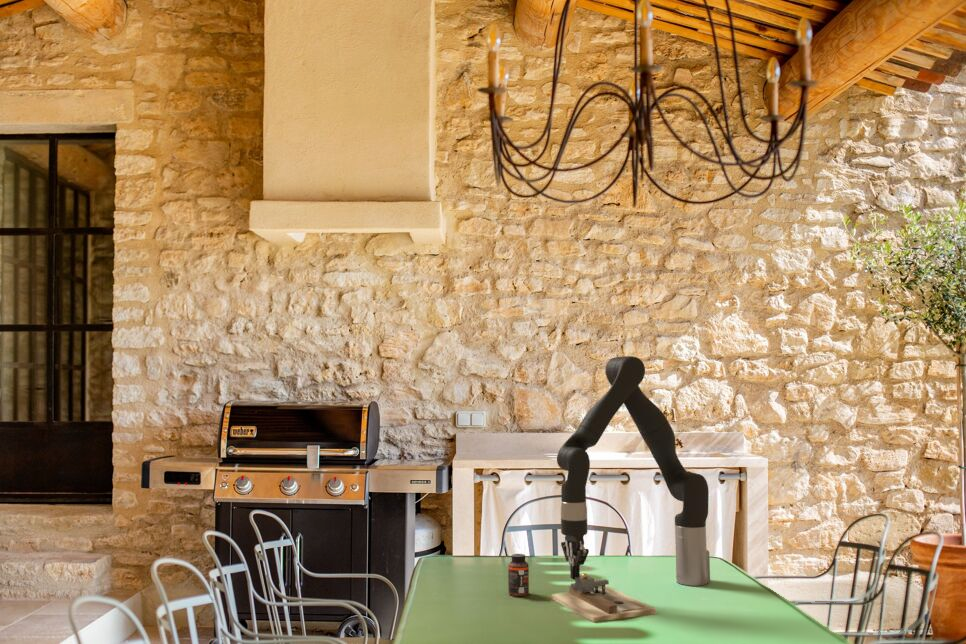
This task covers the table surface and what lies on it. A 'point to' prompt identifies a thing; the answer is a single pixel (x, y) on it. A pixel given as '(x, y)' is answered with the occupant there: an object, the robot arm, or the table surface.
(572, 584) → the bar
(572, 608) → the wooden slider puzzle board
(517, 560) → the supplement bottle
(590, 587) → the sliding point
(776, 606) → the table surface
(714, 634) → the table surface
